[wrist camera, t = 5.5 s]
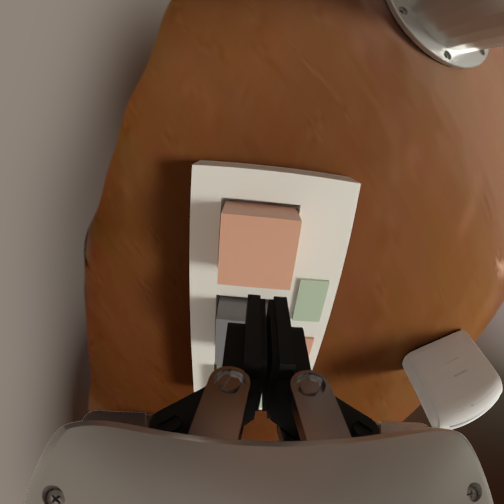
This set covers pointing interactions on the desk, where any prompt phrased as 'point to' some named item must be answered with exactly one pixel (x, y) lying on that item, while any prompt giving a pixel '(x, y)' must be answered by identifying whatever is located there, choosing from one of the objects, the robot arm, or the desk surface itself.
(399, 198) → the desk surface
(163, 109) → the desk surface
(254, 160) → the desk surface
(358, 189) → the white flat slab
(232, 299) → the charcoal key
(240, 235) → the terracotta key
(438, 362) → the photo printer
